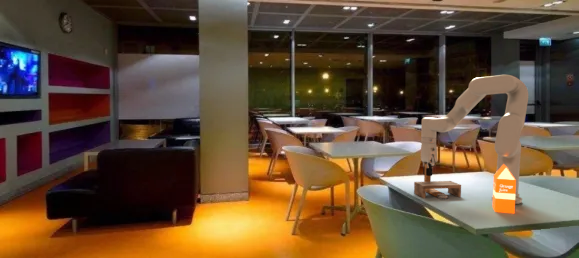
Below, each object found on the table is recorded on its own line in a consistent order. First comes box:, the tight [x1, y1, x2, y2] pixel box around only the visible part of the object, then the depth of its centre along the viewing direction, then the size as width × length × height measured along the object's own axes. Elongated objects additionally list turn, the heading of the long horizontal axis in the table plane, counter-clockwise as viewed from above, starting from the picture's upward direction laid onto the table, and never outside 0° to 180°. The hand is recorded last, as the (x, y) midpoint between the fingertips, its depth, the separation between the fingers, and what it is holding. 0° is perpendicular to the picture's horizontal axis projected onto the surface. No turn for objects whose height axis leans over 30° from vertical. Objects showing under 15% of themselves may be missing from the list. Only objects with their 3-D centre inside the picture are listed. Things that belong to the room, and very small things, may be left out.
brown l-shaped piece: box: [423, 164, 445, 197], centre depth 210 cm, size 15×5×14 cm, turn 8°
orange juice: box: [491, 164, 516, 215], centre depth 178 cm, size 8×9×20 cm
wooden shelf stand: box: [413, 180, 462, 199], centre depth 206 cm, size 10×20×6 cm, turn 98°
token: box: [436, 193, 449, 200], centre depth 201 cm, size 5×5×2 cm
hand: (427, 174), depth 216 cm, fingers closed on brown l-shaped piece
